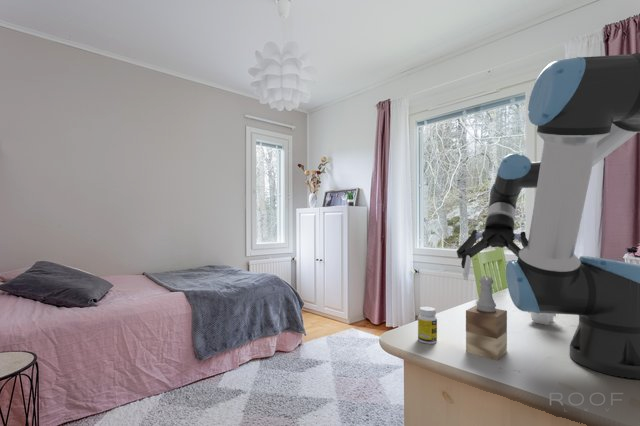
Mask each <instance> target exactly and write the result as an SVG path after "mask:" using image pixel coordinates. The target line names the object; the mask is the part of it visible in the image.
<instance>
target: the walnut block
mask: <svg viewBox="0 0 640 426" xmlns="http://www.w3.org/2000/svg"><path fill="white" fill-rule="evenodd" d="M477 306H478V305H477V304H476V305H475V306H472V307H470V308H468V309H467V310H465V333H466V332H471V333H475V334H479V335H483V336H487V337H491V338H495V339H498V338H499V337H500V336H502V335H503V334H504V333H506V332H507V333H508V310H505V309H501V308H496V311H495V312H493V313H487V312H481V311H479V310H477V308H476V307H477Z"/></svg>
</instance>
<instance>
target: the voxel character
mask: <svg viewBox="0 0 640 426" xmlns="http://www.w3.org/2000/svg"><path fill="white" fill-rule="evenodd" d="M527 313H528V314H530V318H531V319H532V320H533V323H535V324H536V323H537V324H540V325H546V326H547V325H548V326H549V325H550V323H554V317H557V314H551V313H539V314H537V313H535V312H527Z"/></svg>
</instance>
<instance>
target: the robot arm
mask: <svg viewBox="0 0 640 426" xmlns="http://www.w3.org/2000/svg"><path fill="white" fill-rule="evenodd" d="M527 110H528V114H527V116H528V120H529V122H530V123H531V124H533V125H535V126H536V127H537V129H536V134H537V135H538V136H539V137H540V138H541V139H542V140H543V145H542V146H543V147H542V153H541V158H540V161H531V159H530V158H529V157H528V156H526V155H523V154H519V153H510V154H507V155H506V156H504V157H503V158H502V160H501V162H500V165H499V167H498V169H497V173H496V176H495V181H494V183H493V184H492V186H491V189H490V192H489V201H488V202H489V203H488V208H487V215H486V220H485V226H484V231H483V232H478V231H477V230H476V229H473V230H472V231H471V234H470V236H469V237H468V238H467V239H466V240H465V241H464V243H463V244H462V245H460V247H459V248H458V249H457V250H456V255H457V258H458V259H461V261H460V262H461V263H460V264H461V268H462V269H463V273H462V275H463V278H464V279H463V280H464V281H468V278H469V273H470V270H471V269H470V268H471V262H472V261H471V259H472V258H473V257H474V256H476V255H478V254H479V253H480V252H481V251H482V250H484V249H488V248H490V247H491V248H502V249H503V248H507V250H509V251H510V252H512V253H513V254H514V255H515V256H516V257H517V260H515V259H512V260H509V261H508V262H507V263H506V268H505V278H506V279H505V280H506V285H507V291H508V293H509V298H510V299H511V301H512V303H513V305H514V306H515V308H516V309H518V310H519V311H521V312H525V313H526V312H527V313H528V312H535V313H537V314H539V313H551V314H556V315H572V316H573V315H574V316H576V315H577V316H578V317H579V318H578V324H577V327H576V329H575V332H574V334H573V337H572V338H571V341H570V344H569V350H568V351H569V352H568V353H569V357H570V358H571V359H572V360H573V361H574V362H575V363H577V364H579V365H581V366H584V367H586V368H588V369H590V370H593V371H596V372H599V373H602V374H606V375H609V376H613V375H614V377H618V376H620V378H624V377H627V378H626V379H630V378H636V379H635V380H640V264H638V263H632V262H626V261H620V260H616V259H608V258H603V257H596V256H595V257H594V256H589V255H581V256H579V258H578V257H577V255H576V254H575V252H576V246H577V241H578V235H579V231H580V226H581V221H582V217H583V213H584V212H583V211H584V207H585V203H586V198H587V193H588V189H589V184H590V179H591V174H592V169H593V167H594V166H596V165H597V164H598V163H600V162H601V161H602V160H603V159H605V158H606V157H607V156H609V155H610V154H611V153H613V152H614V151H616V150H617V149H618V148H619V147H621V146H622V145H623V144H624V143H626V142H627V141H628V140H630V139H631V138H632V137H634V136H635V135H636V134H637V133H640V52H635V53H631V54H630V53H629V54H615V55H597V56H596V55H595V56H576V57H572V58H571V57H570V58H565V59H559V60H556V61H553V62H550V63H549V64H548V65H547V66H545V67H544V69H543V70H542V71H541V72H540V74H539V75H538V76H537V78H536V80H535V83H534V85H533V87H532V89H531V92H530V96H529V101H528V106H527ZM522 189H536V191H535V198H534V202H533V209H532V216H531V220H530V227H529V235H528V239H527V234H526V231H521V232H520V233H514V232H515V221H516V220H515V219H516V209H517V208H516V207H517V203H518V199H519V195H520V194H521V191H522ZM480 238H481V239H480ZM479 239H480V240H479ZM515 240H517V241H518V242H519V243H520V244H521V245H522V247H523V248H520V247H519V246H518V245H517V244H516V243H515V242H514V241H515ZM477 241H478V242H477Z"/></svg>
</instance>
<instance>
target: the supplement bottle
mask: <svg viewBox="0 0 640 426" xmlns="http://www.w3.org/2000/svg"><path fill="white" fill-rule="evenodd" d="M436 312H437V311H436V307H435V308H434V307H431V306H421V307H419V315H418V317H417V340H418V342H420V343H422V344H429V345H432V344H436V343H437V341H438V317H437V316H436V314H437V313H436Z"/></svg>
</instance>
